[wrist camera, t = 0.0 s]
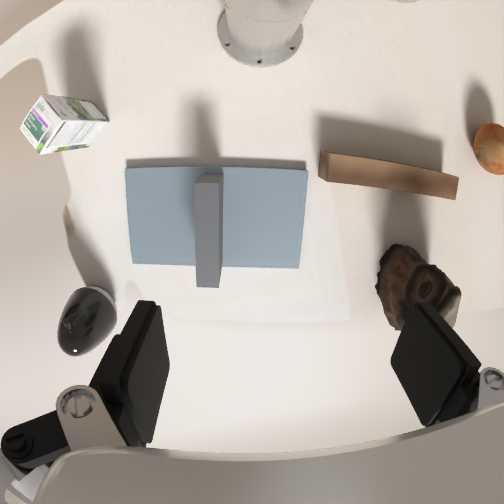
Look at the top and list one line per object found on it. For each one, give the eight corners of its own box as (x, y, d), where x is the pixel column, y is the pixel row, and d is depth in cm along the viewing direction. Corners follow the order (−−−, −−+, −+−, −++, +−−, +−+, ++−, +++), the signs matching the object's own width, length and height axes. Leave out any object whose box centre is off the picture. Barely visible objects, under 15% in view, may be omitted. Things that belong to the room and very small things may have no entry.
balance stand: (127, 167, 42) (100, 177, 33) (306, 170, 44) (323, 180, 34) (135, 260, 49) (114, 288, 39) (297, 265, 50) (309, 295, 41)
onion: (499, 153, 42) (531, 161, 33) (475, 179, 44) (509, 190, 35) (482, 113, 39) (516, 116, 30) (457, 137, 41) (492, 143, 32)
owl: (380, 311, 54) (425, 380, 36) (352, 269, 50) (401, 338, 32) (428, 274, 52) (486, 330, 33) (406, 227, 48) (474, 277, 29)
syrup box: (70, 126, 39) (16, 130, 26) (91, 99, 38) (39, 93, 24) (89, 147, 41) (37, 157, 27) (111, 120, 39) (62, 119, 26)
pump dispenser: (124, 284, 50) (91, 335, 36) (122, 328, 54) (96, 380, 40) (77, 271, 49) (36, 314, 35) (79, 314, 53) (46, 361, 39)
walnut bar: (320, 151, 43) (330, 153, 38) (441, 172, 44) (458, 177, 39) (317, 176, 44) (327, 181, 39) (437, 192, 46) (455, 200, 40)
